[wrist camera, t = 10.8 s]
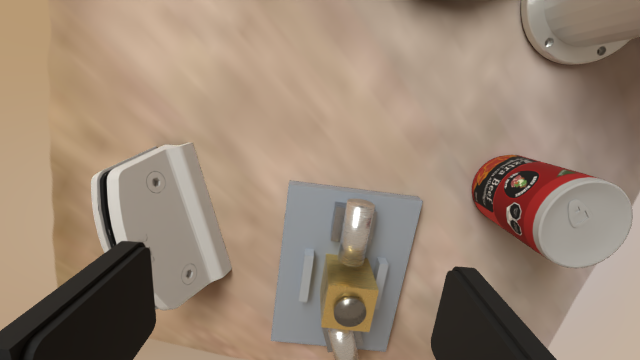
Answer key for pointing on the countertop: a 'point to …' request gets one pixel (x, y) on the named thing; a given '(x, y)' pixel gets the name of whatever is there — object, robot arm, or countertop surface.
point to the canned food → (554, 209)
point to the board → (314, 243)
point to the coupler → (347, 295)
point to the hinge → (163, 219)
